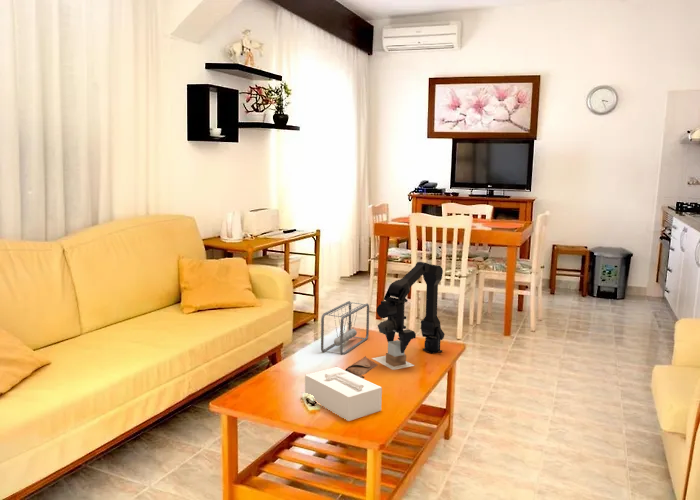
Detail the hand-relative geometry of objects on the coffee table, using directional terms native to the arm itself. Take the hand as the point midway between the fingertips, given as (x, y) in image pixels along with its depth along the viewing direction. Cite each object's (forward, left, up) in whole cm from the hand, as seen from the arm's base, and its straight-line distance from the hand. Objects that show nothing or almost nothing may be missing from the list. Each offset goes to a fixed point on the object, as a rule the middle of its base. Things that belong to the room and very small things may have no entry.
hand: (396, 350), depth 252 cm
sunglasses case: (+15, -1, -7) cm, 17 cm away
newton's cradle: (+5, -33, -7) cm, 34 cm away
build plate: (0, -2, -7) cm, 7 cm away
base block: (0, 0, -6) cm, 6 cm away
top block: (0, 0, -2) cm, 2 cm away
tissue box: (+40, +23, -7) cm, 46 cm away
